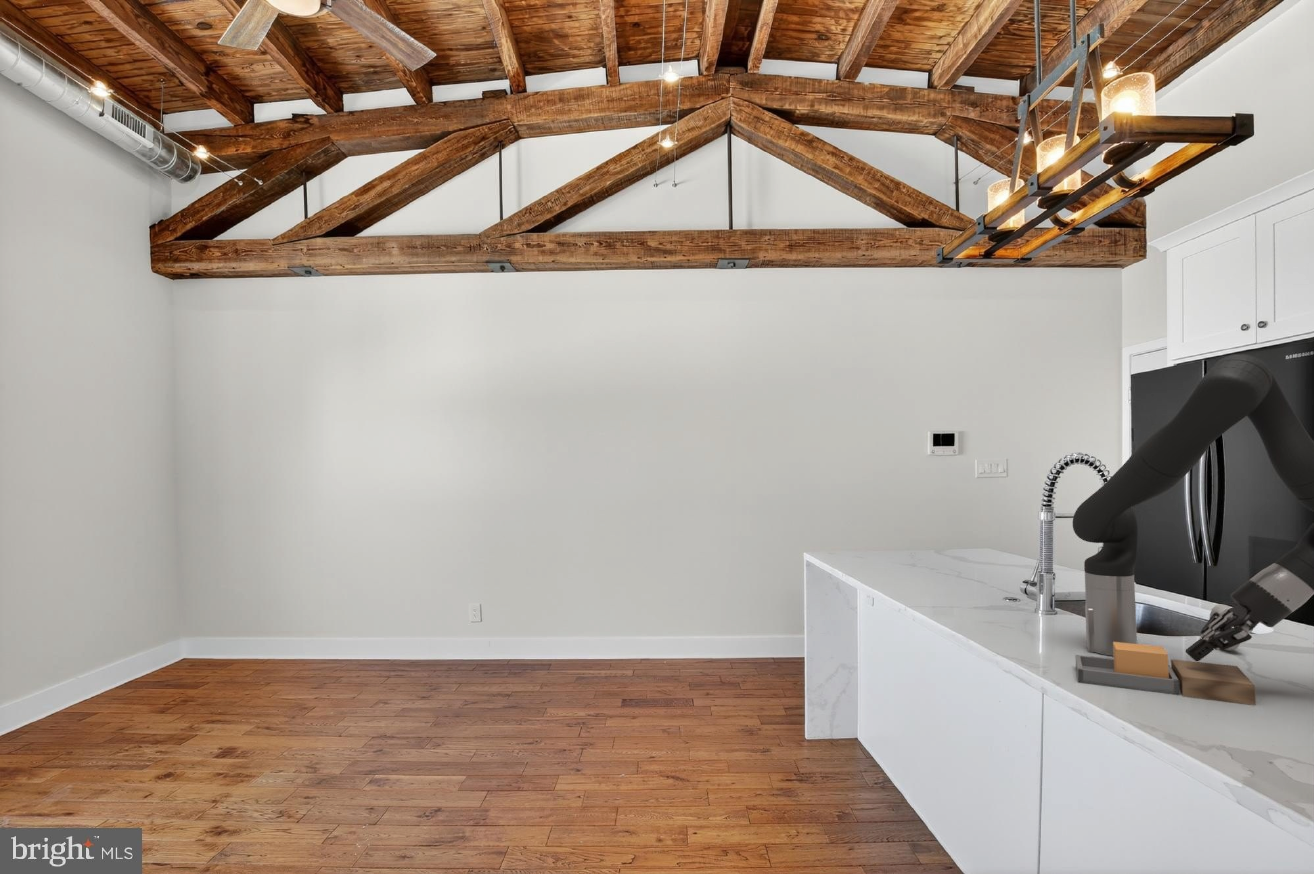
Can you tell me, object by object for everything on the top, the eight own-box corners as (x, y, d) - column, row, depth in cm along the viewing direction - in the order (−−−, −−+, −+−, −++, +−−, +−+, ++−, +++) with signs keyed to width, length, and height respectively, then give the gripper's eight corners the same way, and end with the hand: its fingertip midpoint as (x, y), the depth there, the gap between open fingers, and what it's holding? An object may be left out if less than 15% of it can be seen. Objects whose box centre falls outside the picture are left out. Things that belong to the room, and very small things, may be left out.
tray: (1078, 682, 130) (1078, 669, 130) (1075, 666, 140) (1075, 654, 140) (1179, 694, 122) (1179, 680, 122) (1169, 677, 132) (1169, 664, 132)
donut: (1207, 643, 155) (1205, 599, 156) (1226, 644, 154) (1224, 600, 154) (1225, 655, 146) (1223, 608, 146) (1245, 656, 145) (1243, 609, 145)
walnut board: (1183, 696, 122) (1182, 676, 122) (1171, 677, 132) (1171, 659, 132) (1255, 705, 117) (1254, 684, 117) (1237, 684, 127) (1237, 665, 127)
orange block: (1169, 687, 125) (1117, 680, 129) (1164, 677, 130) (1114, 672, 134) (1167, 654, 125) (1115, 649, 129) (1162, 646, 130) (1112, 641, 134)
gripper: (1308, 618, 114) (1221, 683, 119) (1276, 603, 126) (1197, 662, 131) (1267, 585, 116) (1182, 649, 121) (1238, 573, 129) (1163, 632, 133)
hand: (1190, 656), depth 126 cm, fingers closed
